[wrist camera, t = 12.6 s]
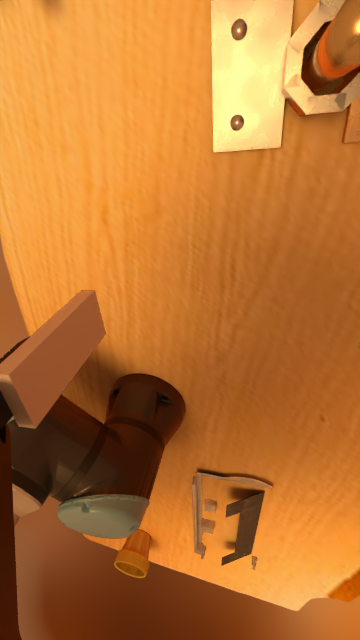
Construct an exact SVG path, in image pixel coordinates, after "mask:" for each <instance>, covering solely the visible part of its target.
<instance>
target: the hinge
mask: <svg viewBox="0 0 360 640" xmlns="http://www.w3.org/2000/svg"><path fill="white" fill-rule="evenodd" d="M344 2H345V0H320V1H319V3H318V4H317V5H316V7H315V8H314V9H313V10H312V12H311V13H310V14H309V16H308V17H307V18H306V19H305V21H304V22H303V23H302V25H301V26H300V27H299V28H298V30H297V31H296V32H295V33H294V35H293V36H292V37H291V26H292V15H293V3H294V0H211V26H212V91H213V152H225V151H239V150H252V149H266V148H280V147H281V137H282V126H283V114H284V103H285V99H286V100H287V102H288V103H289V104H290V105H291V106H292V108H293V109H294V110H295V111H296V112H297V114H298V115H299V116H303V115H313V114H324V113H335V112H342V111H344V109H345V108H346V107H347V106H348V105H349V106H348V111H347V117H346V122H345V128H344V133H343V138H342V142H343V143H348V142H360V66H358V67H357V68H355V69H353V70H352V71H350V72H349V73H347V74H345V77H344V80H343V81H342V82H341V84H340V85H339V86H338V87H337V88H336V89H335V90H334V91H333V92H332V93H331V94H330V95H320V96H315V95H314V94H313V93H312V92H311V91H310V89H309V88H308V87H307V86H306V84H305V83H304V82H303V81H302V79H301V68H302V59H303V53H304V51H305V50H306V49H307V48H308V47H309V45H310V44H311V43H312V42H313V40H318V39H321V37H322V36H323V34H324V32H325V31H326V29H327V28H328V26H329V25H330V23H331V22H332V20H333V19H334V17H335V16H336V14H337V12H338V11H339V9H340V8H341V6H342V5H343V3H344ZM290 37H291V39H290Z"/></svg>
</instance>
